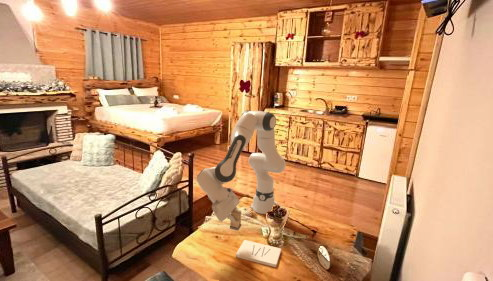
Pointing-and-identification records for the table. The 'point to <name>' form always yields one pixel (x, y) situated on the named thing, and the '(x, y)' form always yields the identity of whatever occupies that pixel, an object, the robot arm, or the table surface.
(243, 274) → the table surface
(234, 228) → the block
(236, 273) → the table surface
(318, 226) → the table surface
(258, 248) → the board
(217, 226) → the table surface
